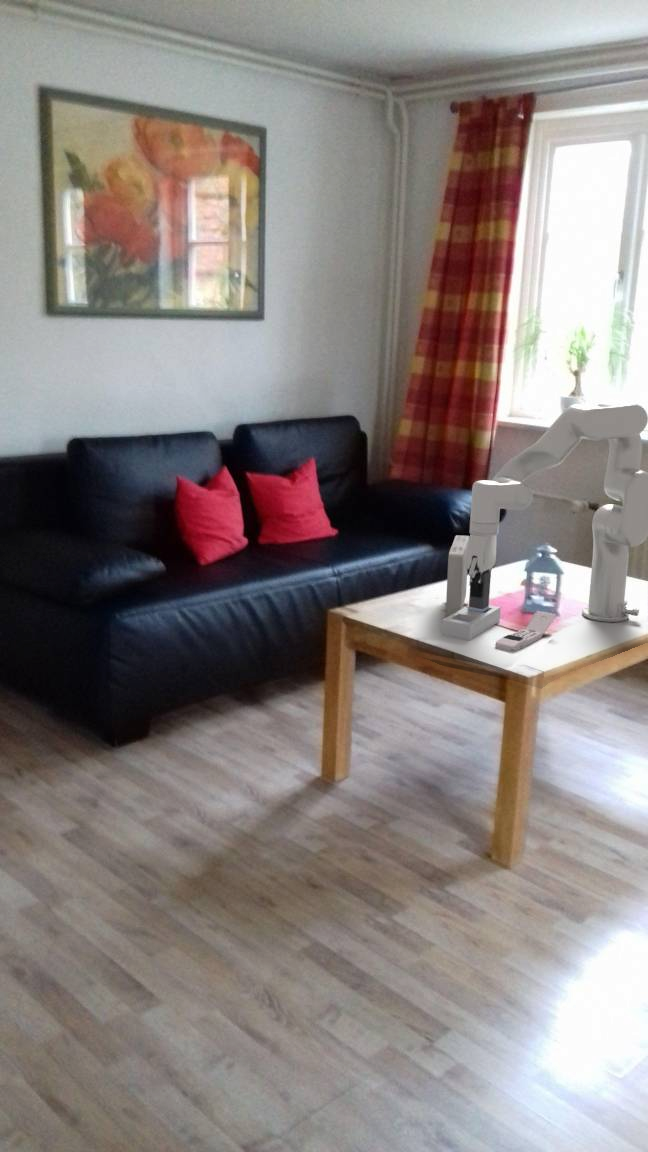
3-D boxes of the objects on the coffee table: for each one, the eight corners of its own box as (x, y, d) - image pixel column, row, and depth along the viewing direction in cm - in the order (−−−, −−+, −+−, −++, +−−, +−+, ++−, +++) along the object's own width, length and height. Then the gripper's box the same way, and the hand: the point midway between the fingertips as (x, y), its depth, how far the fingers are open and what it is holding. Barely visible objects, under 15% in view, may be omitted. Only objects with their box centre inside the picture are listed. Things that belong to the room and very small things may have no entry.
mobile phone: (557, 614, 269) (512, 635, 250) (556, 635, 271) (510, 658, 252) (537, 609, 273) (490, 630, 254) (535, 631, 274) (489, 653, 255)
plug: (488, 614, 276) (491, 571, 273) (482, 618, 272) (485, 574, 269) (472, 611, 278) (475, 568, 275) (466, 615, 275) (468, 571, 272)
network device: (467, 627, 275) (471, 555, 270) (434, 625, 277) (438, 553, 272) (473, 602, 299) (477, 535, 294) (443, 600, 301) (446, 533, 296)
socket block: (499, 624, 278) (500, 606, 277) (469, 643, 262) (470, 624, 260) (472, 619, 282) (473, 601, 281) (441, 638, 266) (441, 619, 264)
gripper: (483, 521, 278) (479, 586, 283) (457, 531, 264) (453, 599, 269) (509, 524, 274) (504, 590, 279) (484, 535, 260) (480, 604, 265)
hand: (479, 594), depth 274 cm, fingers closed on plug, 4 cm apart
